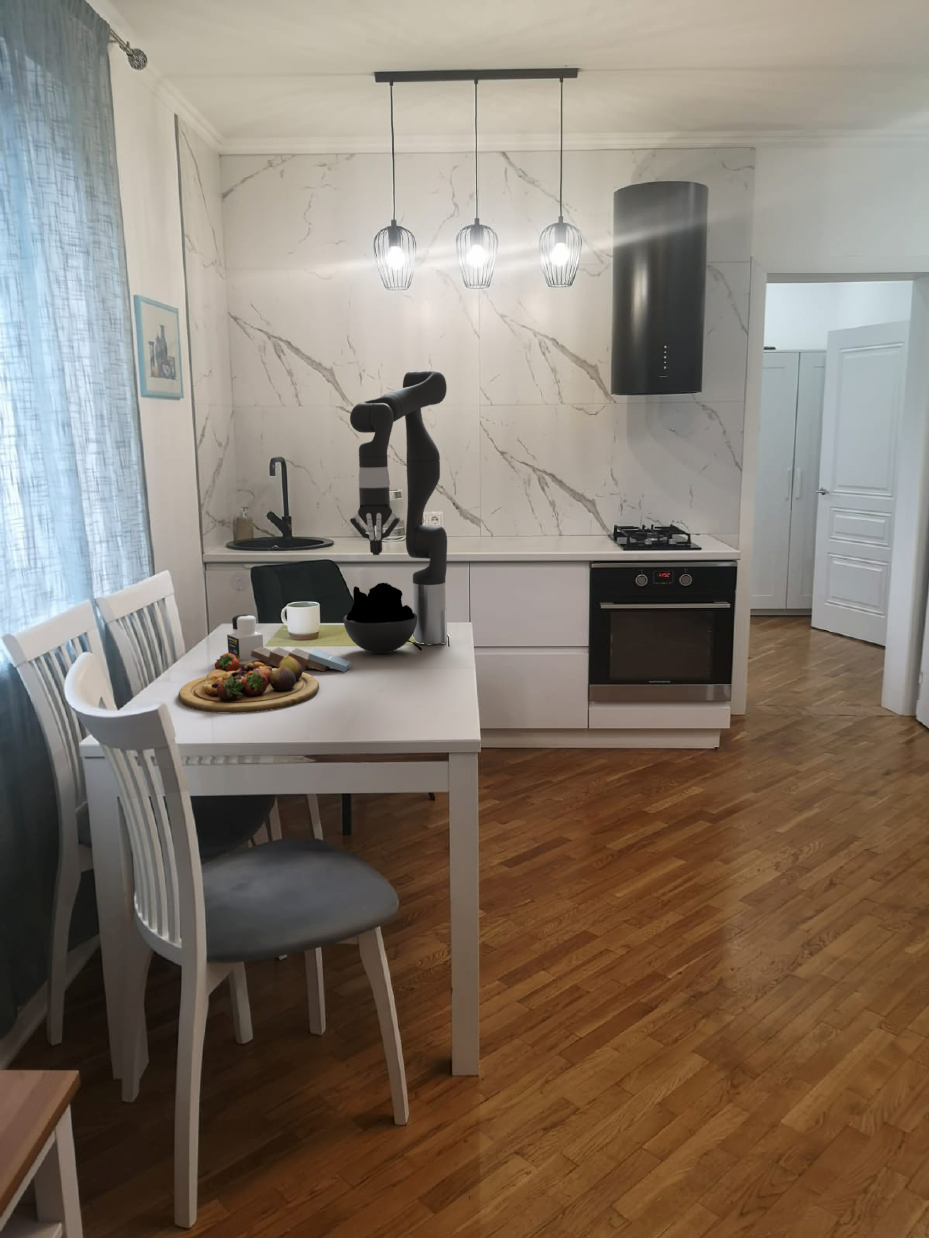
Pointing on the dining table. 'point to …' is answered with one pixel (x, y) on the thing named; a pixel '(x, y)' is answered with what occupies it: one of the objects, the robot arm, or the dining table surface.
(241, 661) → the brown wooden block
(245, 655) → the medicine bottle
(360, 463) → the robot arm
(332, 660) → the tile
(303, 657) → the tile
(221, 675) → the wooden plate with food
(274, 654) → the tile
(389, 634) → the bowl of black rocks
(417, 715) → the dining table surface
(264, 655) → the tile
